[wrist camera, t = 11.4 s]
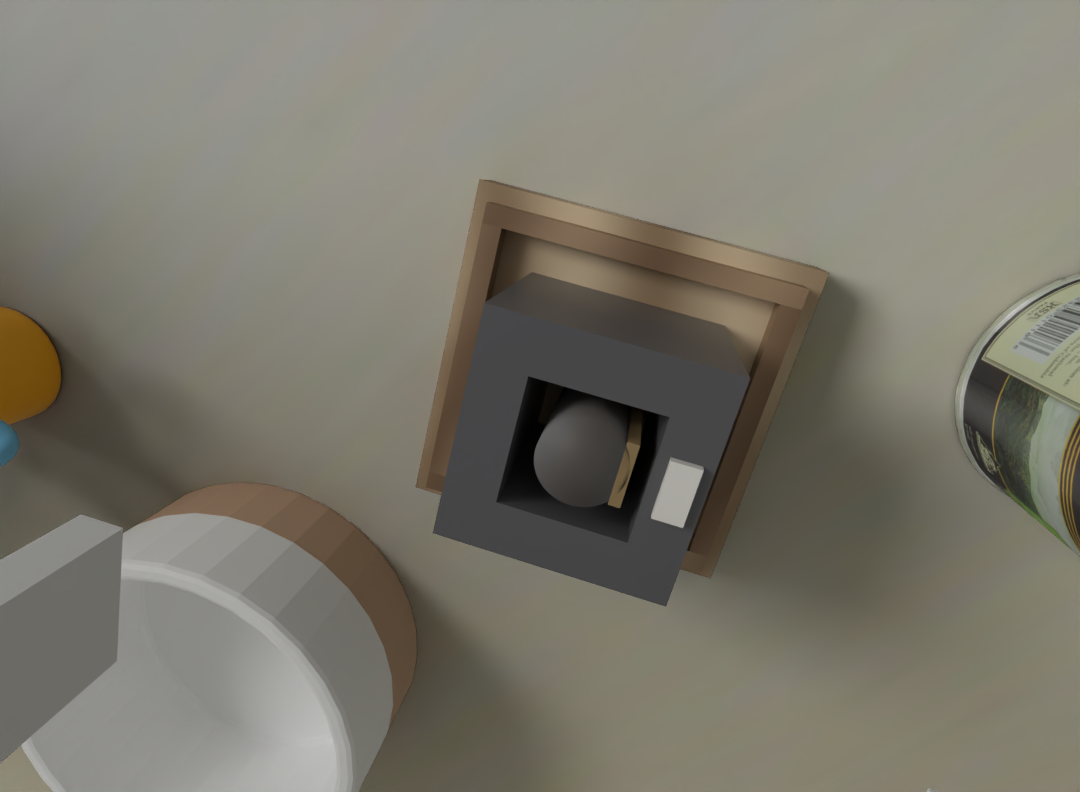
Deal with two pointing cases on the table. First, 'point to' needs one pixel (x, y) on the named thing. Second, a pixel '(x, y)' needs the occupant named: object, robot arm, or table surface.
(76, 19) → the table surface
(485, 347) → the hollow dark grey cube
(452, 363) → the plate
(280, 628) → the bowl
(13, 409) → the orange tube with rings
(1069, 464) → the coffee can
